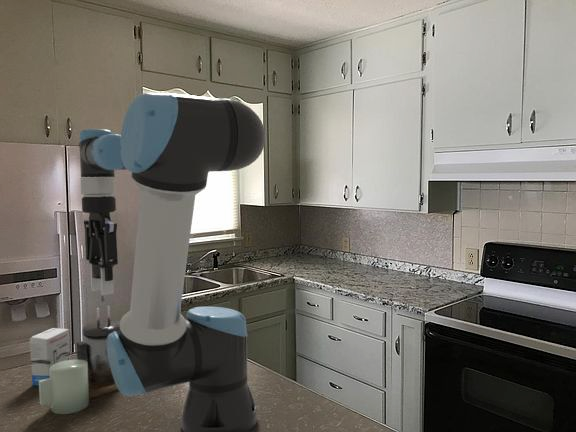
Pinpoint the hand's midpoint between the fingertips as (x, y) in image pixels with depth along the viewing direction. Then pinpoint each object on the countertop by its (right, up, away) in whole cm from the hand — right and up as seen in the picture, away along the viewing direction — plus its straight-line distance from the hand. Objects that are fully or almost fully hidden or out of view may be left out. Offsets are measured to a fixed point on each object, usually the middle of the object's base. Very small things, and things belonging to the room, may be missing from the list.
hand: (102, 291), depth 118 cm
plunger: (0, -2, 0) cm, 2 cm away
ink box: (-14, -23, +4) cm, 27 cm away
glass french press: (0, -22, +2) cm, 22 cm away
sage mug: (-4, -23, -12) cm, 26 cm away
